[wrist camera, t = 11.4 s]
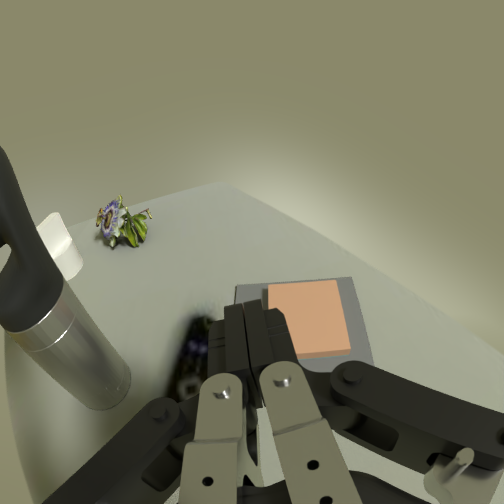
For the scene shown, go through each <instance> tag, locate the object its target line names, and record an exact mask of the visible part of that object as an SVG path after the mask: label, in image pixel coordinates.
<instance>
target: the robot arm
mask: <svg viewBox="0 0 504 504" xmlns="http://www.w3.org/2000/svg"><path fill="white" fill-rule="evenodd" d="M5 244H8V245H9V246H10V247H11V254H10V256H9V259H8V261H7V263H6V265H5V266H4V268H3V270H2V271H1V273H0V324H1V326H2V327H3V328H4V329H5V330H6V331H7V332H8V334H9V335H10V336H11V337H12V338H13V339H14V340H15V341H16V342H17V344H18V345H19V346H20V347H21V348H22V349H23V350H24V351H25V352H26V353H27V354H28V355H29V356H30V357H31V358H32V359H33V360H34V361H35V362H36V363H37V364H38V365H39V366H40V367H41V368H42V369H44V370H45V371H46V372H47V373H48V374H49V375H50V376H51V377H52V378H53V379H54V380H56V381H57V382H58V383H59V384H60V385H61V386H62V387H64V388H65V389H66V390H67V391H68V392H69V393H70V394H72V395H73V396H74V397H75V398H77V399H78V400H79V401H80V402H82V403H83V404H84V405H85V406H87V407H89V408H91V409H94V410H105V409H109V408H111V407H113V406H115V405H116V404H118V403H119V402H120V401H121V400H122V399H123V398H124V396H125V395H126V393H127V391H128V388H129V386H130V380H131V377H130V370H129V367H128V366H127V364H126V363H125V361H124V360H123V359H122V358H121V356H120V355H119V354H118V353H117V352H116V350H115V349H114V348H113V346H112V345H111V344H110V342H109V341H108V340H107V339H106V337H105V336H104V335H103V333H102V332H101V331H100V329H99V328H98V327H97V325H96V324H95V323H94V321H93V320H92V318H91V317H90V316H89V314H88V313H87V311H86V310H85V308H84V307H83V305H82V304H81V303H80V301H79V300H78V298H77V297H76V295H75V294H74V292H73V291H72V289H71V288H70V286H69V284H68V283H67V281H66V280H65V278H64V276H63V275H62V273H61V272H60V270H59V268H58V267H57V265H56V263H55V262H54V260H53V258H52V257H51V255H50V253H49V252H48V250H47V248H46V246H45V244H44V243H43V241H42V239H41V237H40V235H39V233H38V231H37V229H36V227H35V225H34V222H33V221H32V218H31V216H30V213H29V211H28V208H27V206H26V203H25V201H24V198H23V195H22V193H21V190H20V187H19V184H18V181H17V179H16V176H15V174H14V171H13V168H12V166H11V164H10V162H9V159H8V157H7V155H6V153H5V152H4V150H3V149H2V148H1V146H0V248H1V247H2V246H3V245H5ZM243 306H244V307H243ZM208 348H209V350H208V379H207V380H206V381H205V382H204V383H203V385H202V386H201V389H200V393H199V394H197V395H196V396H194V397H192V398H190V399H188V400H185V401H183V402H180V403H178V404H177V403H176V402H175V401H174V400H173V399H170V398H165V397H163V398H157V399H154V400H152V401H150V402H149V403H148V404H147V405H146V406H145V407H143V408H142V409H141V410H140V411H139V412H138V413H137V414H136V415H135V416H134V417H133V418H132V419H131V420H130V421H129V422H128V423H127V424H126V425H125V426H124V427H123V428H122V429H121V430H120V431H119V432H118V433H117V434H116V435H115V436H114V437H113V438H112V439H111V440H110V441H109V442H108V443H107V444H106V445H104V446H103V447H102V448H101V449H100V450H99V451H98V452H97V453H96V454H95V455H94V456H93V457H92V458H91V459H90V460H89V461H88V462H87V463H85V464H84V465H83V466H82V467H81V468H80V469H79V470H78V471H77V472H76V473H75V474H74V475H73V476H71V477H70V478H69V479H68V480H67V481H66V482H65V483H64V484H63V485H62V486H60V487H59V488H58V489H57V490H56V491H55V492H54V493H53V494H52V495H50V496H49V497H48V498H47V499H46V500H45V501H44V502H43V503H42V504H163V503H164V502H165V501H166V500H167V499H168V498H169V497H170V496H171V495H172V494H173V493H174V492H175V491H176V490H177V488H178V487H179V486H180V491H179V501H178V503H177V504H431V503H429V502H426V501H424V500H422V499H420V498H418V497H415V496H413V495H411V494H409V493H407V492H405V491H403V490H401V489H399V488H397V487H395V486H393V485H391V484H389V483H387V482H385V481H383V480H381V479H379V478H377V477H375V476H373V475H370V474H367V473H363V472H359V471H351V470H348V468H347V466H346V463H345V461H344V459H343V456H342V454H341V452H340V449H339V447H338V445H337V442H336V440H335V437H334V435H333V433H332V430H331V429H333V430H334V431H335V432H336V433H338V434H340V435H341V436H343V437H345V438H347V439H349V440H351V441H353V442H355V443H357V444H359V445H361V446H363V447H365V448H367V449H369V450H371V451H373V452H375V453H377V454H379V455H381V456H383V457H385V458H387V459H389V460H392V461H394V462H396V463H398V464H400V465H403V466H405V467H407V468H410V469H412V470H414V471H417V472H419V473H422V474H424V475H425V476H424V488H425V490H426V491H427V493H428V494H430V495H431V496H433V497H435V498H436V499H437V500H438V501H439V503H440V504H489V503H490V501H491V499H492V497H493V495H494V493H495V491H496V488H497V486H498V484H499V481H500V479H501V476H502V474H503V471H504V413H500V412H497V411H494V410H491V409H488V408H485V407H482V406H479V405H476V404H473V403H470V402H467V401H464V400H461V399H458V398H455V397H452V396H450V395H447V394H444V393H441V392H439V391H436V390H433V389H430V388H428V387H425V386H422V385H420V384H417V383H415V382H412V381H409V380H407V379H404V378H402V377H399V376H397V375H394V374H392V373H389V372H387V371H384V370H382V369H379V368H377V367H374V366H372V365H369V364H367V363H365V362H362V361H356V360H352V361H346V362H343V363H341V364H339V365H338V366H336V367H335V368H334V369H333V371H332V372H314V371H310V370H308V369H306V368H304V367H303V366H302V365H301V364H300V363H299V361H298V359H297V355H296V352H295V349H294V345H293V342H292V339H291V335H290V333H289V329H288V326H287V322H286V319H285V316H284V314H283V313H282V312H281V311H280V310H279V309H278V308H272V309H268V310H263V305H262V301H261V298H260V299H256V300H251V301H247V302H243V304H242V303H238V304H234V305H229V306H225V307H224V319H223V320H218V321H214V322H213V324H212V326H211V328H210V330H209V343H208ZM261 397H262V398H261ZM262 400H263V403H264V406H265V407H266V409H267V412H268V416H269V420H270V423H271V427H272V431H273V437H274V441H275V445H276V449H277V452H278V456H279V460H280V463H281V467H282V470H283V474H284V477H285V480H282V481H280V482H278V483H275V484H273V485H270V486H267V487H264V481H263V477H262V473H261V463H260V440H259V425H258V417H257V410H256V409H258V408H263V405H262Z"/></svg>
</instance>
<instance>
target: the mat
mask: <svg viewBox="0 0 504 504" xmlns="http://www.w3.org/2000/svg"><path fill="white" fill-rule="evenodd" d="M327 280H336V282H337V286H338V291H339V295H340V299H341V304H342V308H343V313H344V318H345V322H346V327H347V332H348V337H349V342H350V347H351V350H350V353H349V355H347V356H339V357H329V358H318V359H307V360H298V361H299V363H300V364H301V365H302V366H303V367H304V368H306V369H308V370H310V371H314V372H332V371H333V369H334V368H335V367H336V366H338V365H339V364H341V363H343V362H346V361H352V360H356V361H362V362H365V363H367V364H369V365H372V366H374V362H373V357H372V353H371V349H370V344H369V340H368V336H367V332H366V328H365V324H364V320H363V316H362V312H361V309H360V305H359V301H358V298H357V294H356V291H355V287H354V284H353V280H352V277H342V278H330V279H318V280H305V281H291V282H276V283H261V284H244V285H237V290H236V301H235V304H238V303H242V304H243V302H247V301H251V300H256V299H260V298H261V301H262V305H263V310H268V309H269V306H268V285H272V284H287V283H301V282H314V281H327ZM243 307H244V306H243ZM374 367H375V366H374Z"/></svg>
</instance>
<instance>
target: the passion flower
mask: <svg viewBox="0 0 504 504" xmlns="http://www.w3.org/2000/svg"><path fill="white" fill-rule="evenodd" d="M102 211H104V212H105V215H103V214H102ZM144 211H146V212H147V213H148V215H149V217H150V219H152V216H151V214H150V212H149V208H148V209H146V210H144ZM144 211H142V212H144ZM142 212H140V213H142ZM140 213H139V214H136V215H134V216H130V214H129V212H128V208H127V207H124V206H123V205H122V196H121V195H119V196H118V198H117V199H115V201H112V202H111V203H110V204H109V205H107V208H106V209H105V210H102V208H100V211H99V213H98V215H97V219H96V226H97V227H98V226H99V224H100V223H101V222H102V223H101V231H102V232H103V234H104V237H105V238H106V239H107V240H110V244H109V246H112V247H114V246H115V245H116V241H117V238H118V237H120V235H121V233H122V234H123V235H124V236H125V237H127V238H128V239H129V240H130V242H131V244H132V245H133V246H134V247H139V244H138V238H137V234H136V232H135V230H134V228H133V227H132V223H133V224H134V225H135V227H136V228H137V230H138V233H139V234H140V236H141V238H142V239H143V241H144V240H145V237H146V234H147V227H146V224H145V222H143V221H142V220H144V219H147V217H146V216H145V215H143V214H140ZM125 218H127V220H125ZM100 220H101V221H100ZM124 221H127V223H126V225H124Z"/></svg>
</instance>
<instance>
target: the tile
mask: <svg viewBox="0 0 504 504" xmlns="http://www.w3.org/2000/svg"><path fill="white" fill-rule="evenodd" d="M268 306H269V309H272V308H278V309H279V310H280V311H281V312H282V313H283V314H284V316H285V319H286V322H287V326H288V329H289V333H290V335H291V339H292V342H293V345H294V349H295V352H296V355H297V359H298V360H307V359H318V358H329V357H339V356H347V355H349V353H350V350H351V347H350V342H349V337H348V332H347V327H346V322H345V318H344V313H343V308H342V304H341V299H340V295H339V291H338V286H337V282H336V280H327V281H314V282H301V283H287V284H272V285H268Z"/></svg>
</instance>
